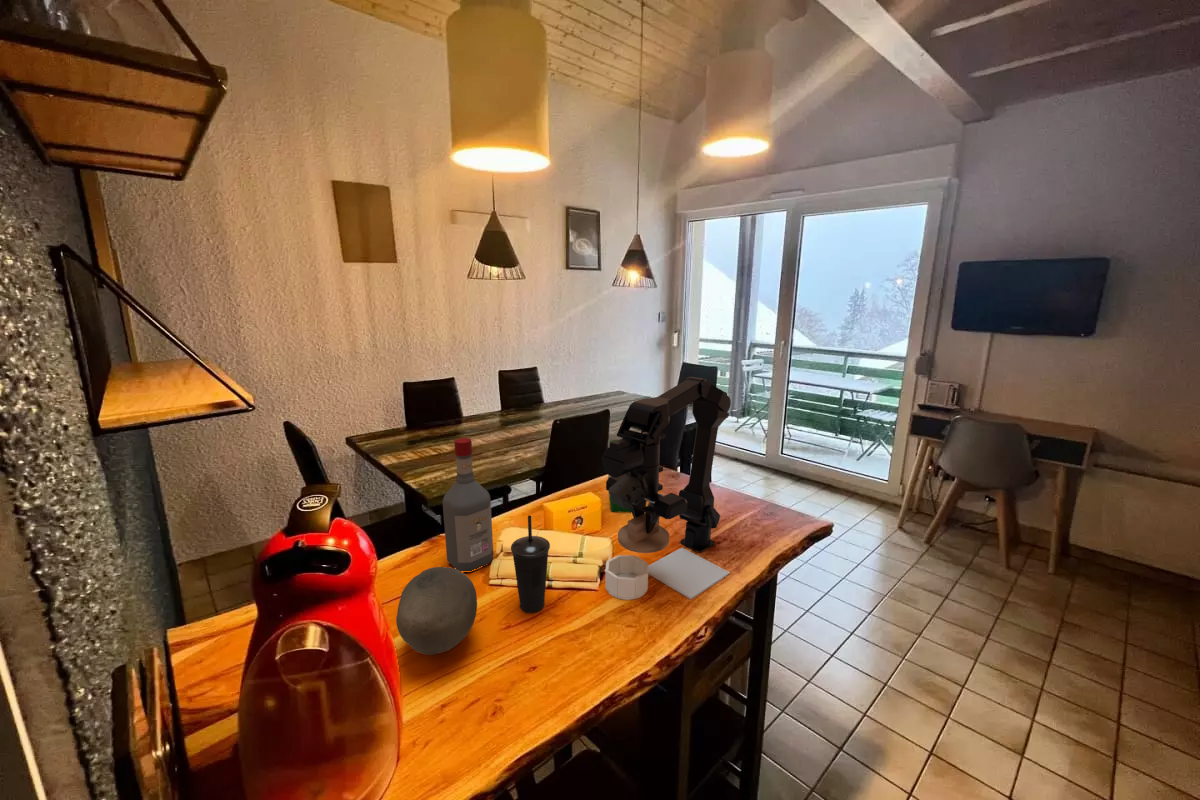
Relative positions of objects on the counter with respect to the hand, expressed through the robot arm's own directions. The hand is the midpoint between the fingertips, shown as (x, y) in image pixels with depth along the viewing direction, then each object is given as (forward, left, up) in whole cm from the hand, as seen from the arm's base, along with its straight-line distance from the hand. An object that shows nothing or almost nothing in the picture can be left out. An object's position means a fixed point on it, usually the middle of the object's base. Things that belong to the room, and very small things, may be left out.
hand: (644, 530), depth 105 cm
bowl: (+4, -1, -13) cm, 13 cm away
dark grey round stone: (+42, -10, -13) cm, 45 cm away
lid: (0, 0, -2) cm, 2 cm away
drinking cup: (+23, -9, -13) cm, 28 cm away
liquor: (+25, -32, -13) cm, 43 cm away
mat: (-10, +4, -13) cm, 17 cm away
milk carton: (-22, -29, -13) cm, 39 cm away
